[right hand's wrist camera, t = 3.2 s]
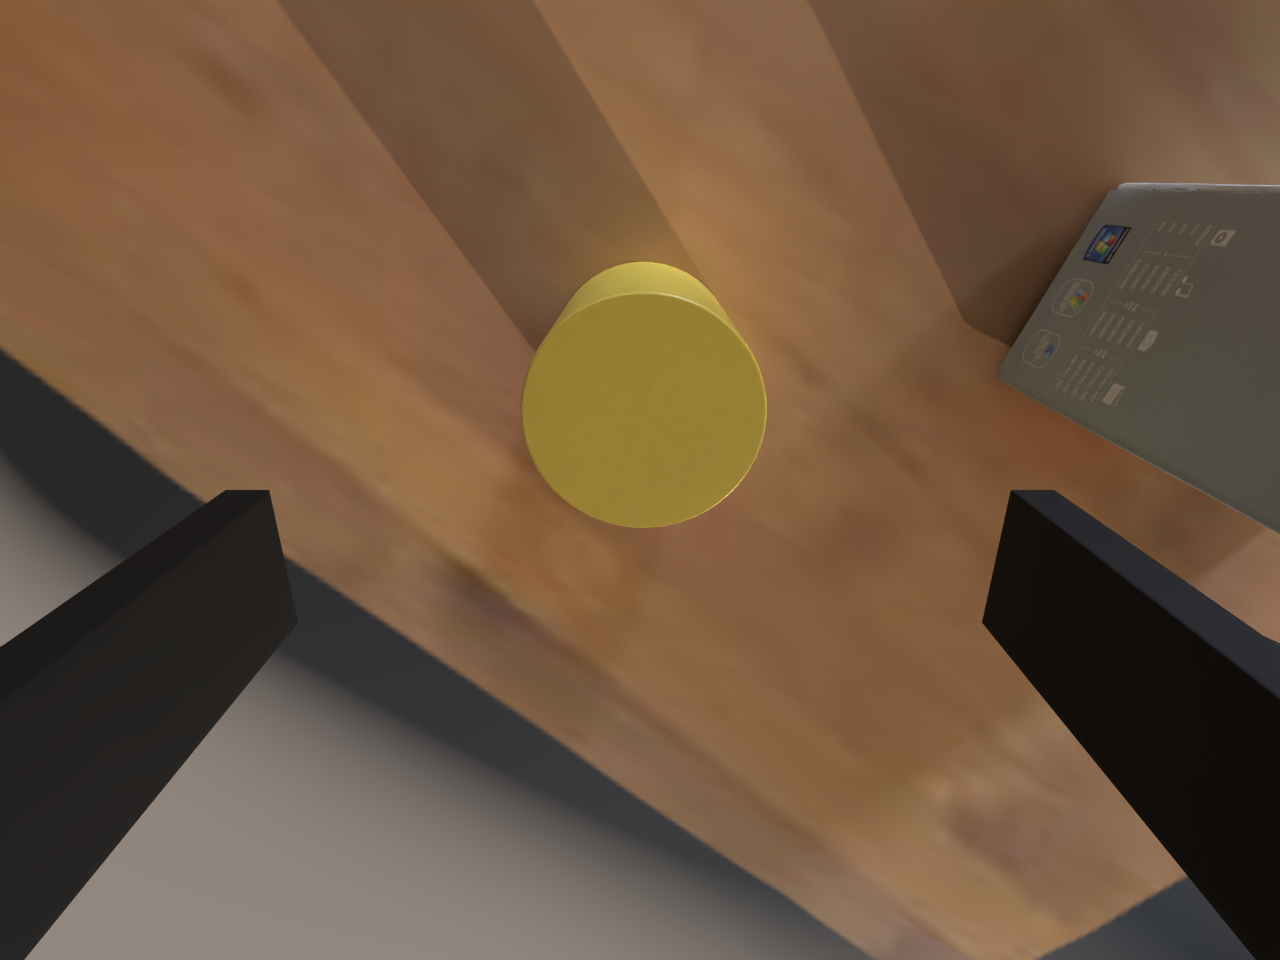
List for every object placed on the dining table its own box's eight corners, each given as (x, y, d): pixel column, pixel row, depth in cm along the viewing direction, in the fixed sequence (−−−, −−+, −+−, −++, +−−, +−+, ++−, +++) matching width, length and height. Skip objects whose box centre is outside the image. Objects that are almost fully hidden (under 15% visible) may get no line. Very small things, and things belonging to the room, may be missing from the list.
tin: (602, 464, 28) (588, 562, 21) (522, 310, 26) (474, 358, 18) (758, 396, 27) (802, 474, 20) (689, 228, 25) (710, 245, 17)
